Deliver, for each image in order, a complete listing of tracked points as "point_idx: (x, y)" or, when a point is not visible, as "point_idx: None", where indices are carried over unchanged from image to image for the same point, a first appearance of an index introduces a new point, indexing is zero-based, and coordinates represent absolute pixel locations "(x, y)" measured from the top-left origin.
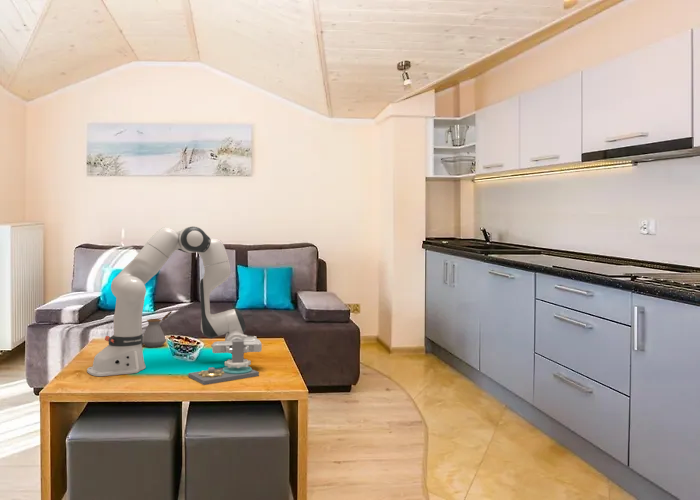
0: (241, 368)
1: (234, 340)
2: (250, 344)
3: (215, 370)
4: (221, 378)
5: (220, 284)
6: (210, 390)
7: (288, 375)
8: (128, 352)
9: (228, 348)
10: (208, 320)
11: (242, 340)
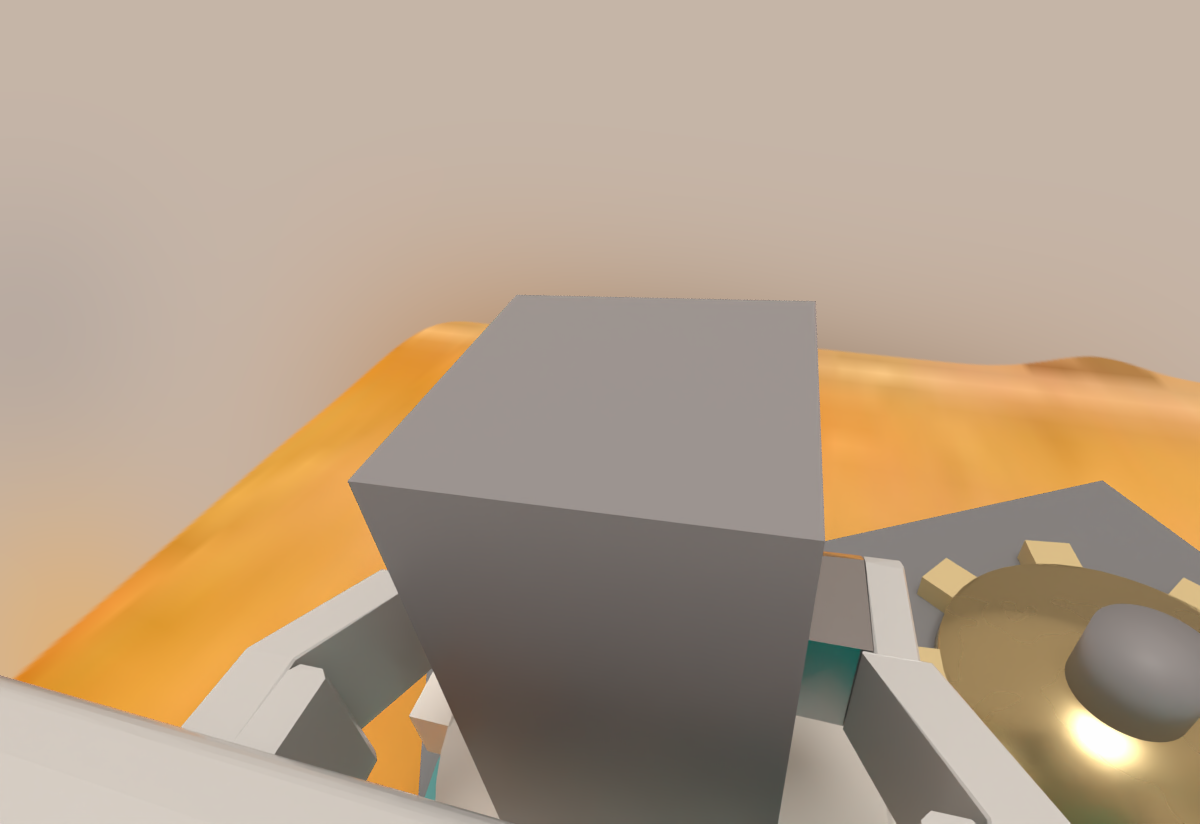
0: None
1: (731, 418)
2: (105, 710)
3: (1095, 821)
4: (912, 523)
5: None
6: (971, 393)
7: (193, 579)
8: None
9: (925, 673)
10: None
11: (469, 376)
